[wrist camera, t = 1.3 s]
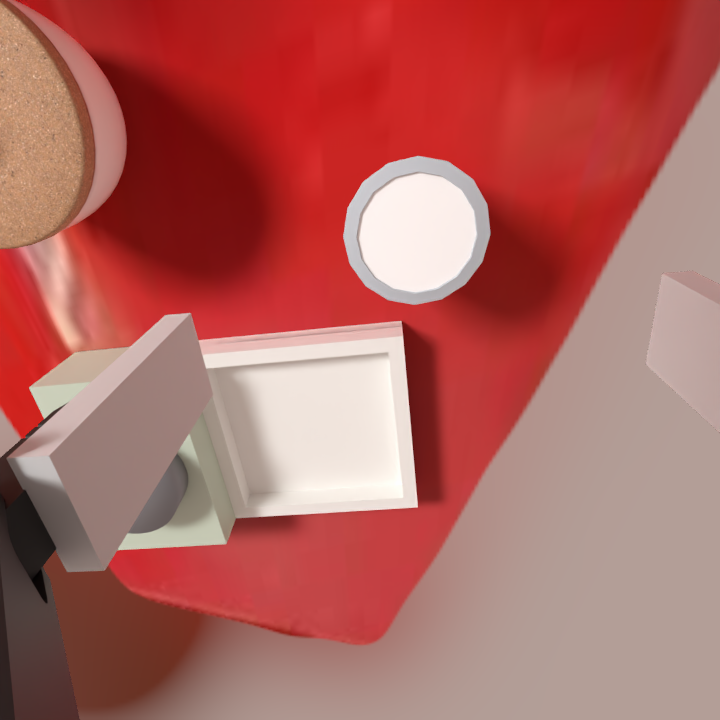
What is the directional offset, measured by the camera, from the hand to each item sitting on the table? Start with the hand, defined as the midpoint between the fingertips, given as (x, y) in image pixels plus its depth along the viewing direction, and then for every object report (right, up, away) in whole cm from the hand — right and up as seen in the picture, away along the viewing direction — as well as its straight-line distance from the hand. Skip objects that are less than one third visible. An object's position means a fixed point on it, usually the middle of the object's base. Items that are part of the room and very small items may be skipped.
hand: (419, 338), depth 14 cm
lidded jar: (-18, +13, +14) cm, 26 cm away
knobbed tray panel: (-10, -5, +22) cm, 25 cm away
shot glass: (+1, +8, +15) cm, 17 cm away
